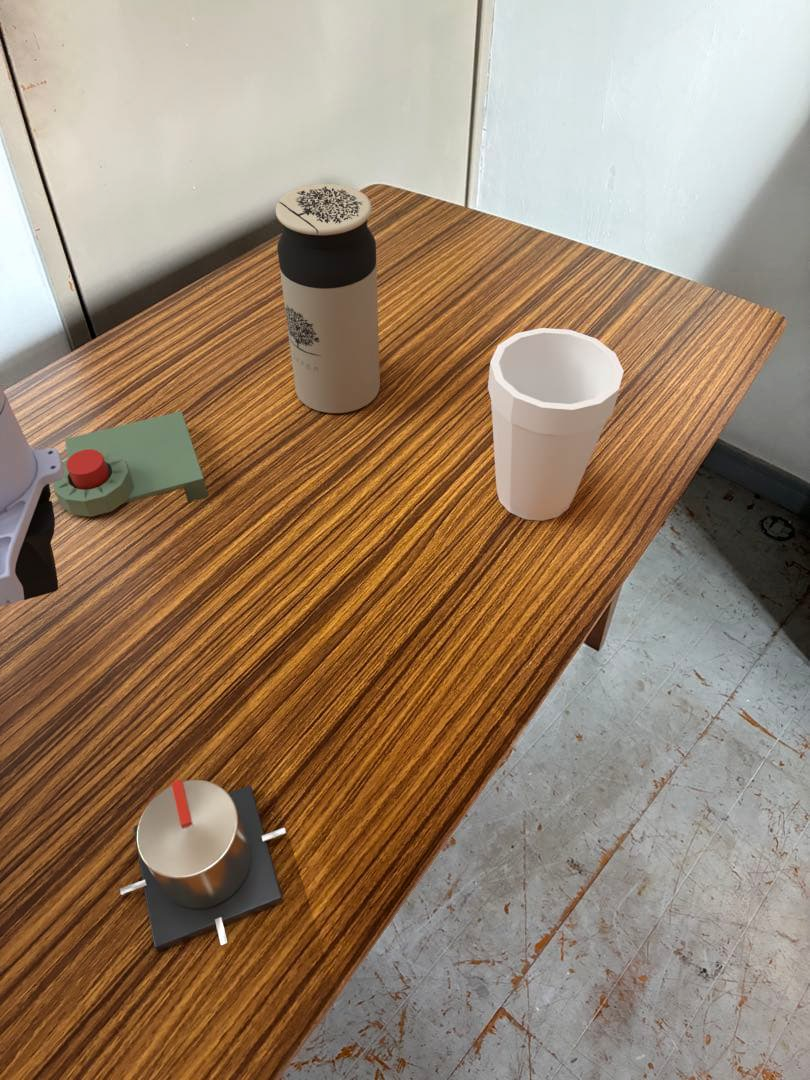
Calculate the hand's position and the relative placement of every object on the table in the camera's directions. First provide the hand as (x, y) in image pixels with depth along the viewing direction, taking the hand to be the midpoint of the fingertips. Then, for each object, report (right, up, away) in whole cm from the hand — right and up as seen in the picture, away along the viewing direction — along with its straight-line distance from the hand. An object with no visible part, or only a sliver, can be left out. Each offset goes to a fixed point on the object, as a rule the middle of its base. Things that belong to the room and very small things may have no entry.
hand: (39, 587), depth 49 cm
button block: (-1, +8, +21) cm, 22 cm away
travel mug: (+16, +17, +29) cm, 37 cm away
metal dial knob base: (+11, -17, -1) cm, 20 cm away
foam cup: (+33, +7, +20) cm, 39 cm away
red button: (-3, +8, +16) cm, 18 cm away
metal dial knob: (+11, -15, -3) cm, 19 cm away
